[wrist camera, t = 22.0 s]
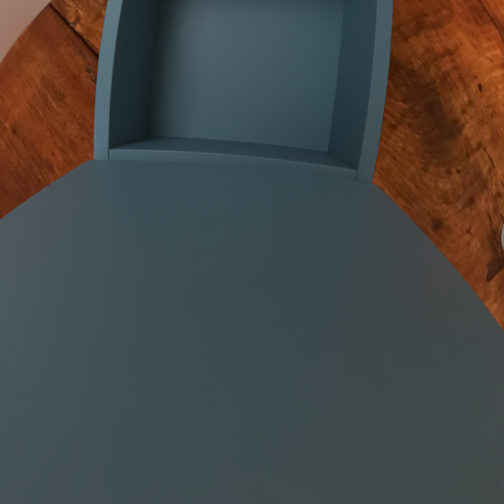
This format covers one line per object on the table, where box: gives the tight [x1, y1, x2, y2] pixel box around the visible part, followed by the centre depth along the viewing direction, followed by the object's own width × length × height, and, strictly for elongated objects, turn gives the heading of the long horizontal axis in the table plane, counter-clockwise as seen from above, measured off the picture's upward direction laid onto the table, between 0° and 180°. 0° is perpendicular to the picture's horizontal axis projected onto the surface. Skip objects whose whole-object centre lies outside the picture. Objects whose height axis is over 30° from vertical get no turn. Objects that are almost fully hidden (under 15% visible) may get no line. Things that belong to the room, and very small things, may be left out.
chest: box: [94, 0, 393, 184], centre depth 13 cm, size 14×13×7 cm
